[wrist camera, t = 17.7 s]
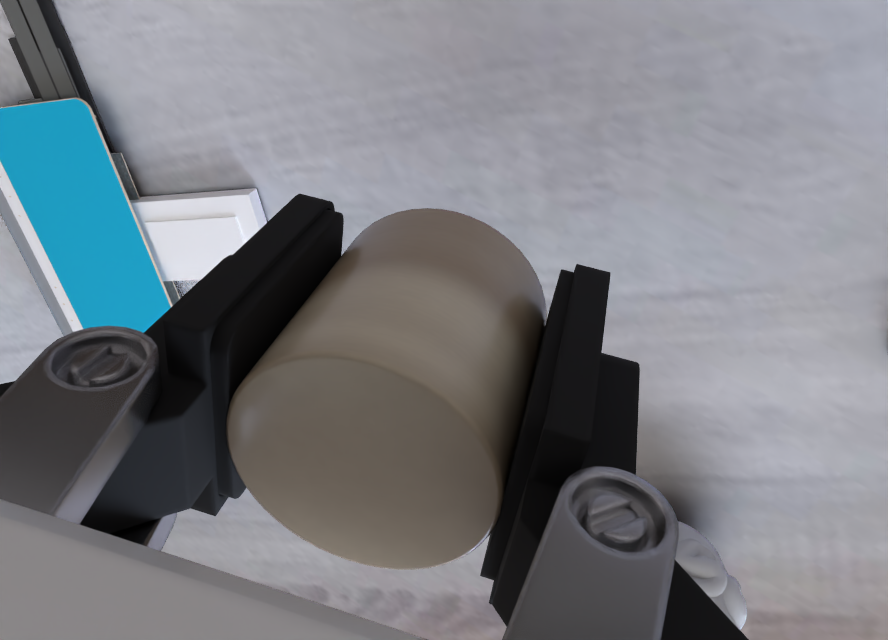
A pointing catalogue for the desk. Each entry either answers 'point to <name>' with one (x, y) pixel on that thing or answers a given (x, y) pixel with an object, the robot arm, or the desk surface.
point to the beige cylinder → (396, 394)
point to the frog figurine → (710, 573)
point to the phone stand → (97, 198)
